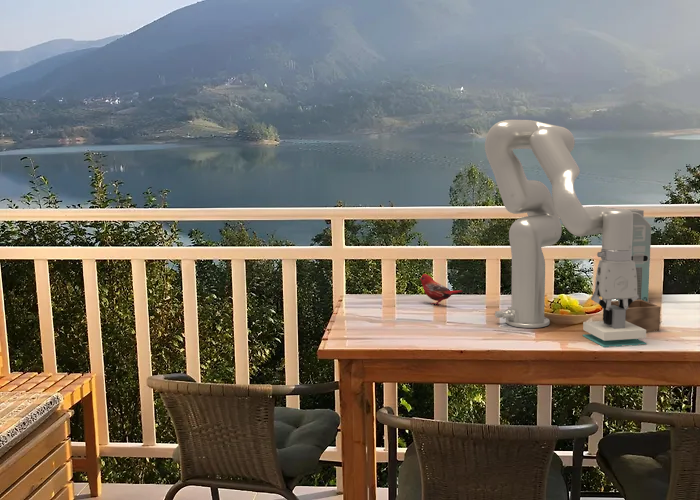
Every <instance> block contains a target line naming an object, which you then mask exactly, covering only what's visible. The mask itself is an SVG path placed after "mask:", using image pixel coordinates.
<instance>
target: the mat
mask: <svg viewBox="0 0 700 500" xmlns="http://www.w3.org/2000/svg"><path fill="white" fill-rule="evenodd" d="M582 337H583V338H586V339H587V340H590V341H591V342H592V343H593V342H594V343H595V344H597V345H599V346H601V347H602V346H603V348H610V347H609V346H616V347H623V346H622V345H632V346H639V345H638V344H646V345H647V342H645V341H643V340H640V338H639V339H623V340H607V341H604V340H602V339H600V338H598V337H596V336H594V335H592V334H590V333H589V334H587V333H586V334H582Z"/></svg>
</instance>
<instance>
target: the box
mask: <svg viewBox="0 0 700 500" xmlns="http://www.w3.org/2000/svg"><path fill="white" fill-rule="evenodd" d="M611 305H615V306H618V307H619V301H616V300H611ZM625 321H627V322H629V323H632V324H634V325H636V326H639V327H641V328H643V329H645V330H646V333H654V332H655V333H656V332H660V331H661V330H660V328H661V306H659V305H658V304H654V303H652V302H649V301H648V302H646V301H644V300H635V301H633V302H632V303H631V304H630V305H629V306H628V309H626V319H625Z"/></svg>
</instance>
